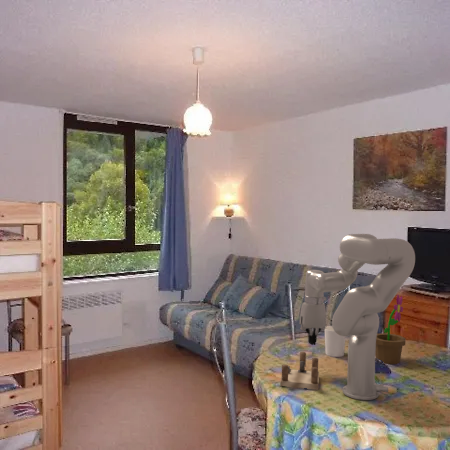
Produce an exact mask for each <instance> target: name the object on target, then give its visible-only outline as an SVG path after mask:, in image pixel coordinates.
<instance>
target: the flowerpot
mask: <svg viewBox="0 0 450 450" xmlns="http://www.w3.org/2000/svg"><path fill="white" fill-rule="evenodd" d="M402 303H403V296H402V295H401V296H400V295H399V294H396V304H394V305H393V310H392V311H391V313H390V314H389V319H388V323H387V327H385V328H384V331H383V332H384V333H383V332H382V333H378V332H377V337H376V351H375V359H376V358H378V359H380V360H382V361H383V362H384V363H383V364H387V365H398V364H401V357H402V352H403V346H406V337H404V336H401V335H398V334H394V333H391V326H395V325H396V324H397V323H400V322H401V318H402V317H401V316H402V315H401V313H403V311H404V307H403V306H402ZM393 315H394V317H393Z"/></svg>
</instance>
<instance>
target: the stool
mask: <svg viewBox="0 0 450 450" xmlns="http://www.w3.org/2000/svg"><path fill="white" fill-rule="evenodd" d="M319 374H320V371H319V358H317V357H312V358H311V370H307V369H305V371H304V372H301V371H300V369H292V368H291V367H290V365H288V364H281V377H280V380H279V381H280V382H279V383H280V385H279V386H280V387H282V386H287V387H286V388H293V387H296V388H295V389H304V388H307V389H306V390H317V391H318V390H319V385H320V384H319V382H320V380H319V378H320V377H319Z"/></svg>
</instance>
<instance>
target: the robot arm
mask: <svg viewBox="0 0 450 450" xmlns="http://www.w3.org/2000/svg"><path fill="white" fill-rule="evenodd" d="M339 252H340V254H339V256H338V258H337V259H338V260H337V262H338V265H339V266H340V270H339V271H332V272H324V271H322V270H319V269H308V270H307V271H306V272H305V283H304V284H305V287H304V301H303V302H302V304H301V307H300V308H301V309H300V314H299V325H300V330H301V331H303V332H306V333H307V335H308V337H307V341H308V344H310V345H311V346H316V343H317V341H318V340H317V337H318V335H319V333H320V332H321V331H325V327H326V325H327V313H326V306H325V305H326V304H325V303H324V302H325V301H327V297H326V296H325V295H324V293H330V292H341V291H344V290H345V289H347V288H348V287H350V286H351V285H352V284H353V283H354V282H355V281H356V280H357V276H358V274H359V273H358V272H359V270H360V268H361V267H363V266H364V265H366V264H367V265H368V264H369V265H374V266H378V265H379V266H381V265H386V266H385V267H384V268H382V269H381V270H380V271H379V272H378V273H377V274H376V276H375V278H374V279H373V281H372V282H371V283H370V284H369V285H368V284H367V285H366V286H365V285H364V286H357V287H353V288H351V289H349V291H347V292H346V293H345V295H344V296H343V298H342V300H341V301H340V303H339V304H338V306H337V308H336V310H335V311H334V313H333V315H332V317H331V318H332V319H331V326H333V329H334V331H335V332H336V333H337V334H338V335H340V336H346V337H349V339H348V345H347V372H346V373H347V377H346V378H347V379H346V383H347V384H346V385H344V386H343V387H342V393H343V394H344V395H345V396H347V397H348V398H352V399H355V400H358V401H359V400H361V401H372V400H375V399H377V398H379V396H380V395H379V392H383V393H389V386H384V384H381V383H380V384H379V383H377V382H376V380H375V378H376V377H375V372H376V354H375V351H376V337H377V334H378V331H379V325H380V317H379V313H382V312H384V311H385V310H386V309H387V308H388V307H389V305H390V304H391V303H392V301H393V299H394V298H395V296H397V295H398V292H399V290H400V289H401V287H402V286H403V285H404V283H406V281H407V280H408V278H409V277H410V276H411V274H412V273H413V270H414V267H415V263H416V253H415V249H414V248H413V246H412V244H411V243H409V241H408V240H405V239H401V238H394V237H392V238H391V237H389V238H377V237H376V236H374V235H373V234H371V233H351V234H347V235H345V236H344V237H343V238H342V239H341V241H340V242H339Z"/></svg>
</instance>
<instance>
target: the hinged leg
mask: <svg viewBox="0 0 450 450" xmlns="http://www.w3.org/2000/svg"><path fill="white" fill-rule="evenodd" d="M306 367H307V353H306V352H305V351H299V370H300V371H301V372H304V371H305V370H306Z"/></svg>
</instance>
